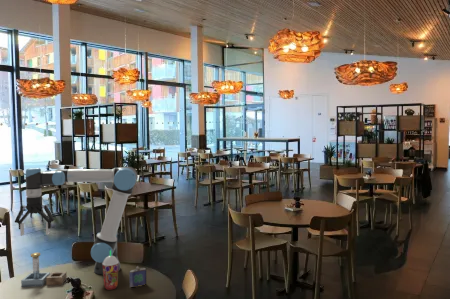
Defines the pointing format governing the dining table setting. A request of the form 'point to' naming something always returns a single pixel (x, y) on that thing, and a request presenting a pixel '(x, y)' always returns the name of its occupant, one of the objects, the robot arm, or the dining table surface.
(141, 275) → the flask
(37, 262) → the pin
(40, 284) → the tray
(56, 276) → the block
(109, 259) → the smoothie
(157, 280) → the dining table surface
